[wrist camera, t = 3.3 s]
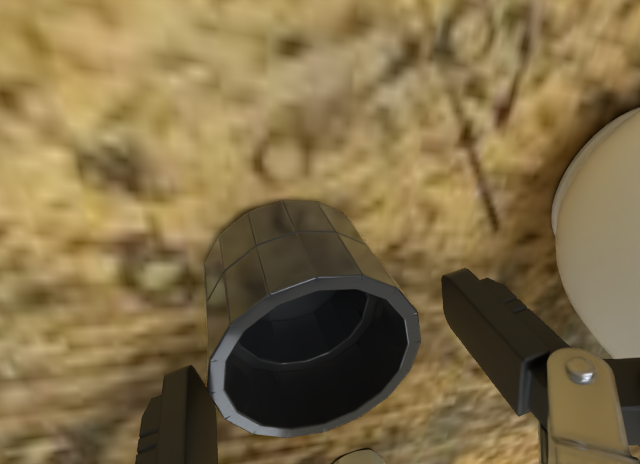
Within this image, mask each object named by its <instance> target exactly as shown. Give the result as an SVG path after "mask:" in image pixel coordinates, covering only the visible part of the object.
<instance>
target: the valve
mask: <svg viewBox="0 0 640 464" xmlns="http://www.w3.org/2000/svg"><path fill="white" fill-rule="evenodd" d="M334 464H386V463H385V461H384V460H383V459H382V458H381V457H380V456H379V455H378V454H377V453H376V452H374V451H372V450H360V451H356V452H352V453H350V454H347V455H345V456H343V457H342V458H340V459H339V460H337V461H336V462H335V463H334Z"/></svg>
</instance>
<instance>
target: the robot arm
mask: <svg viewBox="0 0 640 464" xmlns="http://www.w3.org/2000/svg"><path fill="white" fill-rule="evenodd" d="M441 282H442V296H443V310H444V315H445V318H446V320H447V322H448V324H449V326H450V328H451V329H452V330H453V332H454V333H455V334H456V336H457V337H458V338H459V340H460V341H461V342H462V343H463V345H464V346H465V347H466V349H467V350H468V351H469V353H470V354H471V355H472V356H473V358H474V359H475V360H476V362H477V363H478V364H479V366H480V367H481V368H482V370H483V371H484V372H485V373H486V375H487V376H488V377H489V379H490V380H491V381H492V383H493V384H494V385H495V386H496V388H497V389H498V390H499V392H500V393H501V394H502V396H503V397H504V398H505V399H506V401H507V402H508V403H509V405H510V406H511V407H512V409H513V410H514V411H515V413H516V414H517V415H518V416H521V415H524V414H526V413H529V412H532V413H533V414H534V416H535V417H536V418H537V419H538V421H539V422H538V435H539V464H640V462H639V460H638V459H637V458H636V457H632V455H631V453H630V451H629V447H628V445H639V446H640V357H638V358H622V359H602V358H600V357H599V356H597V355H595V354H594V353H591V352H589V351H586V350H583V349H579V348H572V347H570V346H569V345H568V344H566V343H565V342H564V341H563V340H562V339H561V338H560V337H559V336H558V335H557V334H556V333H555V332H554V331H552V330H551V329H550V328H549V327H548V326H547V325H546V324H545V323H544V322H543V321H542V320H541V319H540V318H539V317H537V316H536V315H535V314H534V313H533V312H532V311H531V310H530V309H527V307H526V305H525V304H524V303H522V302H521V301H520V300H519V299H517V298H516V296H515V295H514V294H513V293H512V292H511V291H510V290H508V289H507V288H506V287H505V286H504V285H502V284H500V283H498V282H496V281H494V280H491V279H489V278H485V279H482V280H479V279H478V278H477V277H476V276H475V275H474V274H473V273H472V272H471V271H470V270H469V269H467V268H463V269H460V270H457V271H454V272H452V273H449V274H446V275H443V276H442V279H441ZM139 436H140V439H139V441H138V448H137V452H138V455H136V462H135V464H218V448H217V421H216V410H215V405H214V402H213V400H212V399H211V397H210V396H209V394H208V391H207V388H206V386H205V384H204V383H203V381H202V380H201V378H200V376H199V375H198V373H197V371H196V370H195V368H194V367H193V366H192V365H189V366H186V367H184V368H181V369H178V370H175V371H173V372H170V373H167V374H165V376H164V379H163V389H162V395H160V396H157V397H155V398H152V399H151V400H150V402H149V404H148V406H147V408H146V410H145V412H144V414H143V416H142V420H141V427H140V434H139Z"/></svg>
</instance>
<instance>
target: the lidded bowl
mask: <svg viewBox="0 0 640 464" xmlns="http://www.w3.org/2000/svg"><path fill="white" fill-rule="evenodd" d="M551 220H552V228H553V232H554V235H555V245H556V259H557V267H558V270H559V274H560V277H561V280H562V283H563V287H564V290H565V292H566V294H567V296H568V298H569V300H570V302H571V304H572V305H573V307H574V309H575V311H576V312H577V314H578V316H579V317H580V319H581V320H582V322H583V323H584V324H585V325H586V327H587V328H588V329H589V331H590V332H591V333H592V335H593V336H594V337H595V338H596V340H597V341H598V342H599V343H600V344H601V345H602V347H603V348H604V349H605V350H606V351H607V352H608V353H609V354H610V355H611V356H612V357H613V358H614V359H622V358H638V357H640V107H639V108H636V109H634V110H631V111H629V112H627V113H625V114H623V115H621V116H619V117H618V118H616V119H615V120H613V121H612V122H610V123H609V124H607V125H606V126H605V127H604V128H602V129H601V130H600V131H599V132H598V133H596V134H595V135H594V136H593V137H592V138H591V139H590V140H589V141H588V142H587V143H586V144H585V145H584V147H583V148H582V149H581V150H580V152H579V153H578V154H577V155H576V157H575V158H574V159H573V161H572V162H571V164H570V165H569V167H568V169H567V170H566V172H565V174H564V176H563V178H562V180H561V182H560V184H559V186H558V189H557V192H556V194H555V198H554V202H553V206H552V215H551Z"/></svg>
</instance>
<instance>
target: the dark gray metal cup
mask: <svg viewBox="0 0 640 464" xmlns="http://www.w3.org/2000/svg"><path fill="white" fill-rule="evenodd" d="M204 314H205V340H206V366H207V391H208V394H209V396H210V397H211V399H212V400H213V402H214V404H215V405H216V407H217V408H218V410H219V411H220V413H221V415H222V416H223V418H225V420H227V421H229V422H231V423H233V424H235V425H237V426H238V427H240V428H242V429H244V430H246V431H248V432H250V433H253V434H257V435H266V436H274V437H283V438H287V437H288V438H291V437H297V436H303V435H310V434H316V433H322V432H324V431H325V432H326V431H328V430H331V429H333V428H336V427H338V426H340V425H343V424H345V423H348V422H350V421H352V420H355V419H357V418H359V417H361V416H362V415H364V414H365V413H366V412H368V411H369V410H371V409H372V408H373V407H375V406H376V405H378V404H379V403H380V402H382V401H383V400H385V399H386V398H387V397H388V396H389V395H391V393H392V392H393V391H394V390H395V388H396V387H397V386H398V385H399V384H400V382H401V381H402V380H403V379H404V378H405V376H406V375H407V374H408V373H409V371H410V369H411V368H412V365H413V362H414V359H415V357H416V354H417V351H418V348H419V346H420V343H421V335H420V327H419V319H418V312H417V310H416V308H415V307H414V306H413V304H412V303H411V302H410V300H409V299H408V298H407V296H406V295H405V293H404V292H403V291H402V289H401V288H400V287H399V285H398V284H397V282H396V281H395V280H394V278H393V277H392V276H391V274H390V273H389V272H388V270H387V269H386V267H385V266H384V265H383V263H382V262H381V261H380V259H379V258H378V257H377V255H376V254H375V252H374V251H373V250H372V248H371V247H370V246H369V244H368V243H367V242H366V240H365V239H364V237H363V236H362V235H361V233H360V232H359V231H358V230H357V228H356V227H355V226H354V225H353V224H352V222H351V221H350V220H349V219H348V217H347V216H346V215H344V213H342V212H339V211H337V210H335V209H333V208H331V207H329V206H326V205H324V204H322V203H320V202H316V201H295V200H282V201H278V202H275V203H272V204H269V205H266V206H263V207H260V208H257V209H254V210H251V211H249V212H248V213H245V214H244V215H243V216H241V217H240V218H239V219H238V220H237V221H235V222H234V223H233V224H232V225H230V226H229V227H228V228H227V229H225V230H224V231H223V232H222V233H221V234H220V236H219V237H218V239H217V240H216V242H215V244H214V246H213V248H212V250H211V252H210V254H209V255H208V257H207V259H206V261H205V265H204Z"/></svg>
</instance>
